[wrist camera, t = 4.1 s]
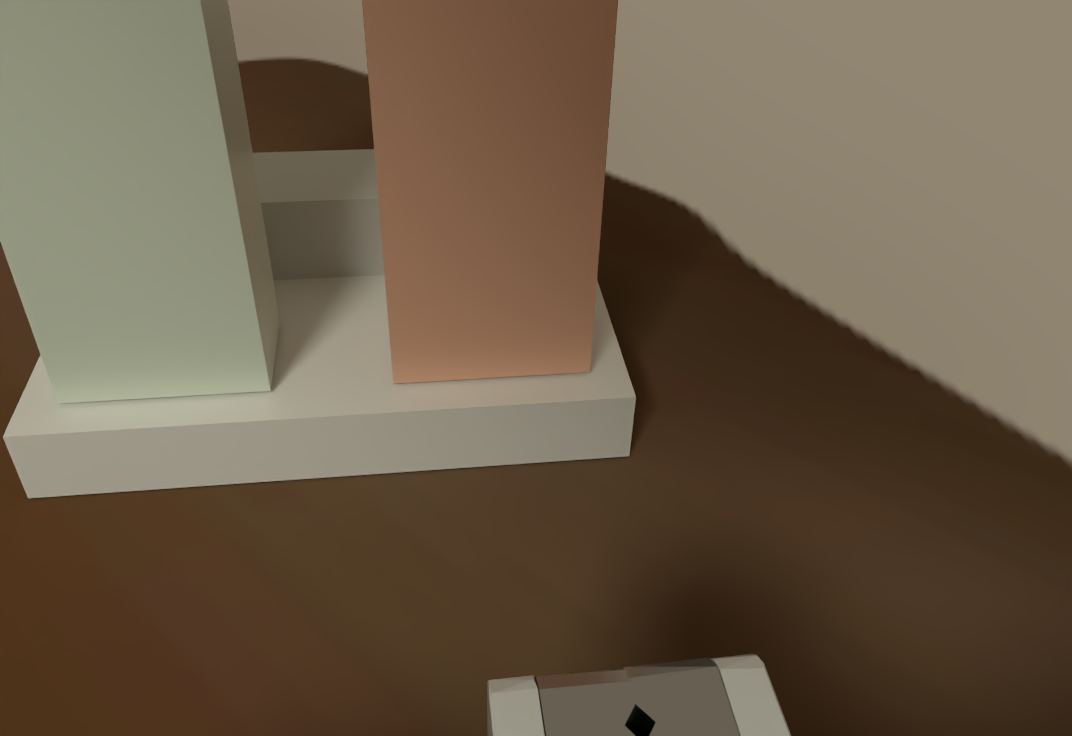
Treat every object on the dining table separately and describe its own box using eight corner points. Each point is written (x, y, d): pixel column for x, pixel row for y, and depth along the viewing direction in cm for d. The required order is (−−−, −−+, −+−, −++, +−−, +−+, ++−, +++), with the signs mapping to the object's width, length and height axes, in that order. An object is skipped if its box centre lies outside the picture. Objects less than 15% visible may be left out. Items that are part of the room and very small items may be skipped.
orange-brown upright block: (393, 383, 24) (349, -160, 17) (391, 311, 27) (352, -189, 19) (590, 371, 25) (630, -159, 18) (570, 303, 27) (598, -187, 20)
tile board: (28, 498, 24) (-34, 350, 21) (114, 279, 32) (78, 151, 29) (629, 456, 26) (645, 314, 23) (569, 258, 33) (576, 135, 31)
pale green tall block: (57, 403, 23) (-144, -163, 16) (89, 327, 26) (-73, -192, 19) (270, 391, 24) (171, -161, 17) (280, 317, 26) (198, -190, 19)
